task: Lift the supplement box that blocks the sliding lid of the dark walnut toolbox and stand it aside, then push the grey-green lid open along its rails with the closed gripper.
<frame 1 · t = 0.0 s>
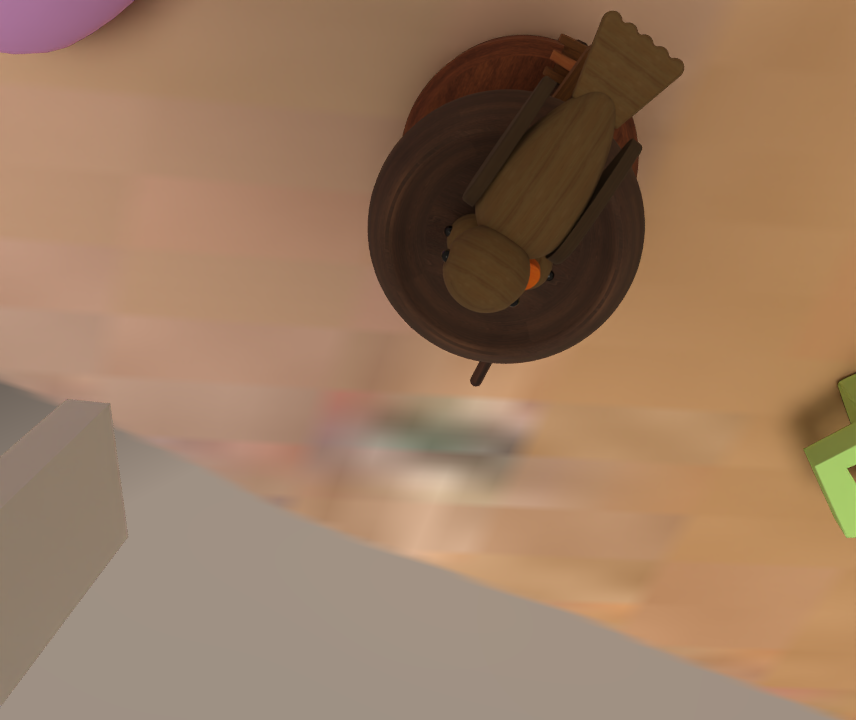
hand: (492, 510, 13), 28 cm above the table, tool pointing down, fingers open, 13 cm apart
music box: (513, 167, 39), on the table
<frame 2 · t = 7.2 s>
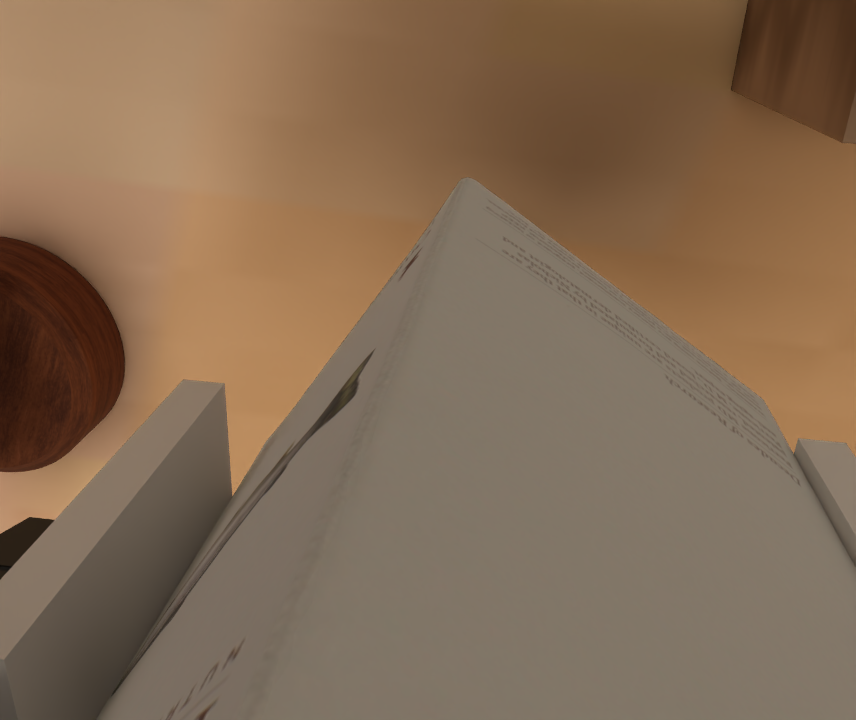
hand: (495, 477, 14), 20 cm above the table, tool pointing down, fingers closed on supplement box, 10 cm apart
supplement box: (500, 414, 16), point 18 cm above the table, touching gripper
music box: (20, 355, 39), on the table
when the fingers open (4 cm above the table, at t = 10.3 s): supplement box drops 1 cm, on the table.
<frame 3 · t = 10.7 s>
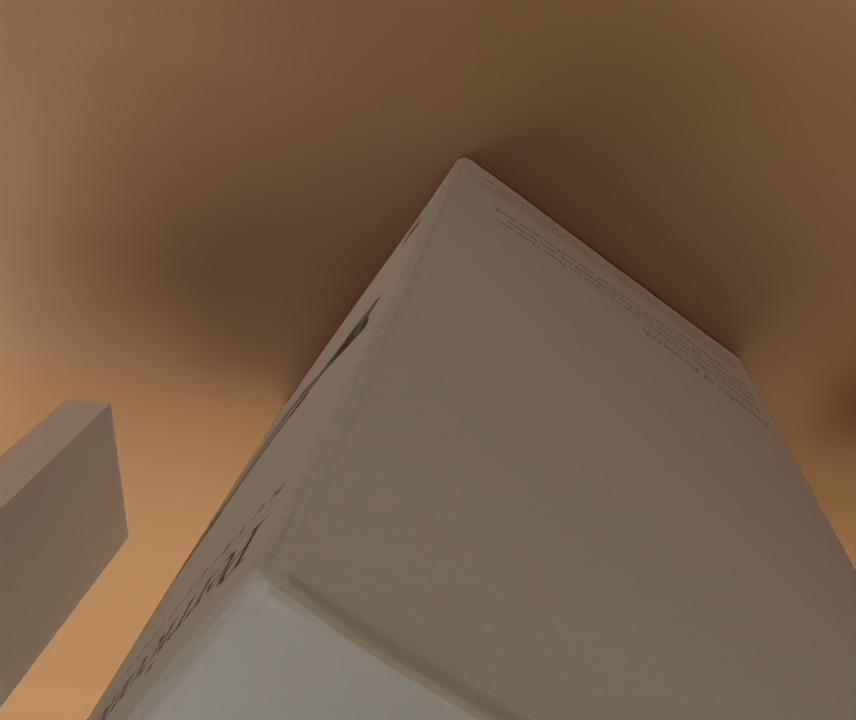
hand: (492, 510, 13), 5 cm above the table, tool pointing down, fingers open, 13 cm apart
supplement box: (498, 379, 18), on the table
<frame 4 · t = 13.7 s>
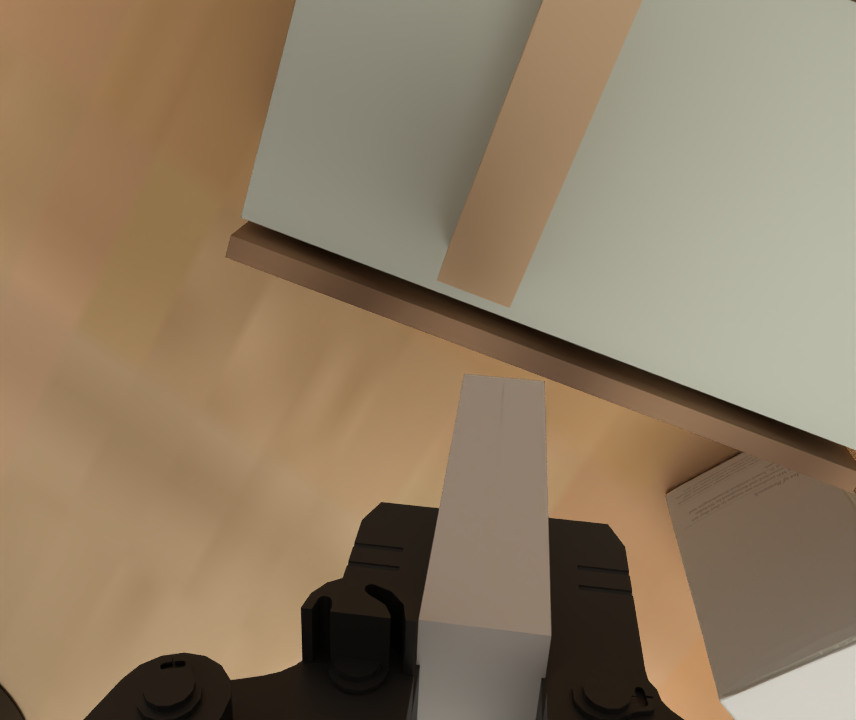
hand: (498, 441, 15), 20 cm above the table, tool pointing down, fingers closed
supplement box: (767, 508, 39), on the table
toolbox: (604, 111, 32), on the table
lid: (641, 173, 21), point 12 cm above the table, slide at 0.0 cm
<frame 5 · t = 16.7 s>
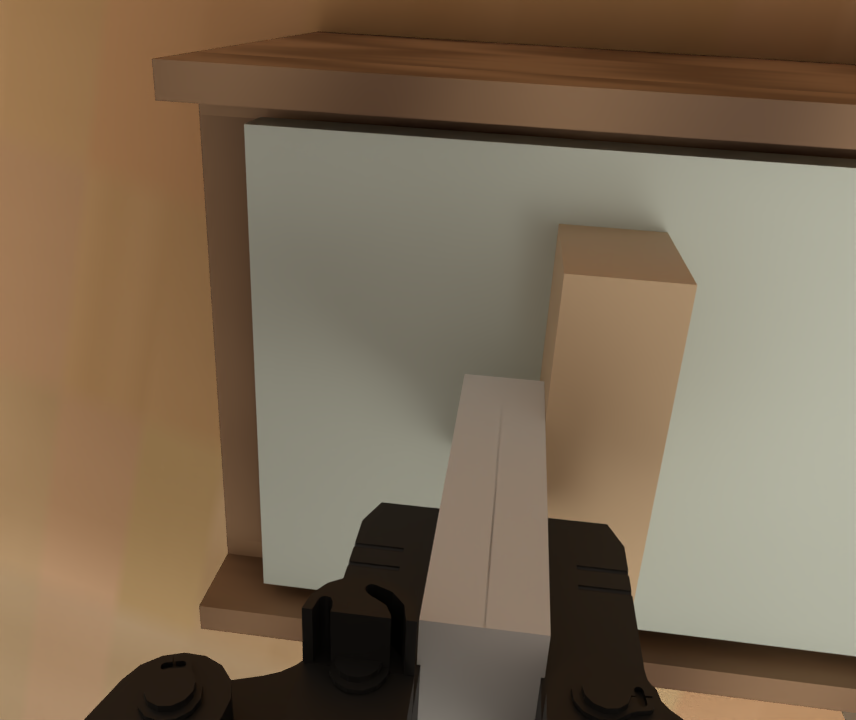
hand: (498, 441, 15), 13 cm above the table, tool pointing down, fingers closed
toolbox: (613, 260, 27), on the table
lid: (745, 457, 15), point 12 cm above the table, slide at 1.4 cm, touching gripper
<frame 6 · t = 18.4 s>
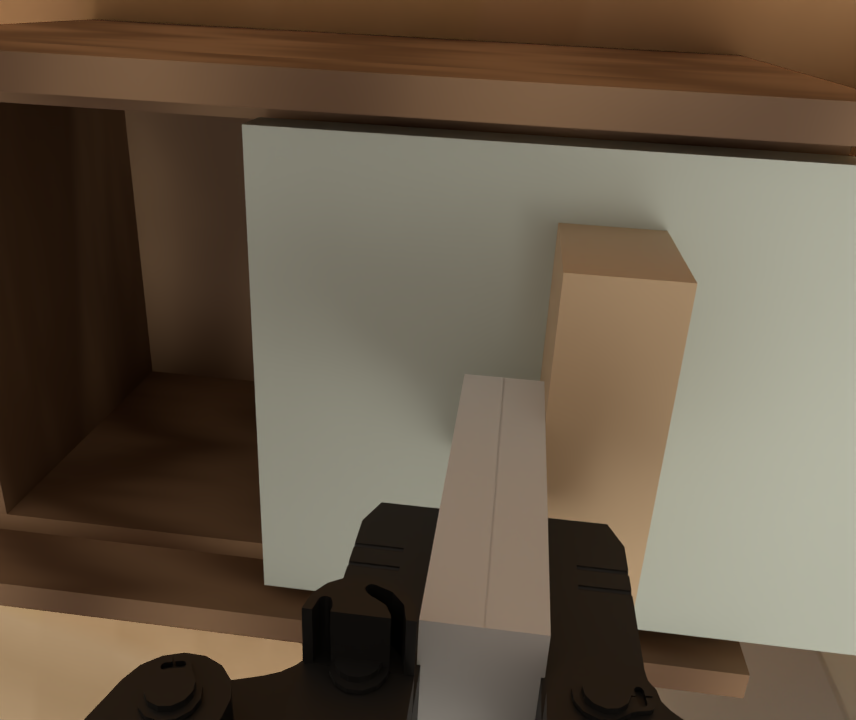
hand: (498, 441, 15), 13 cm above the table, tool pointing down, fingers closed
supplement box: (759, 612, 32), on the table
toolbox: (398, 242, 27), on the table
lid: (746, 456, 15), point 12 cm above the table, slide at 8.6 cm, touching gripper
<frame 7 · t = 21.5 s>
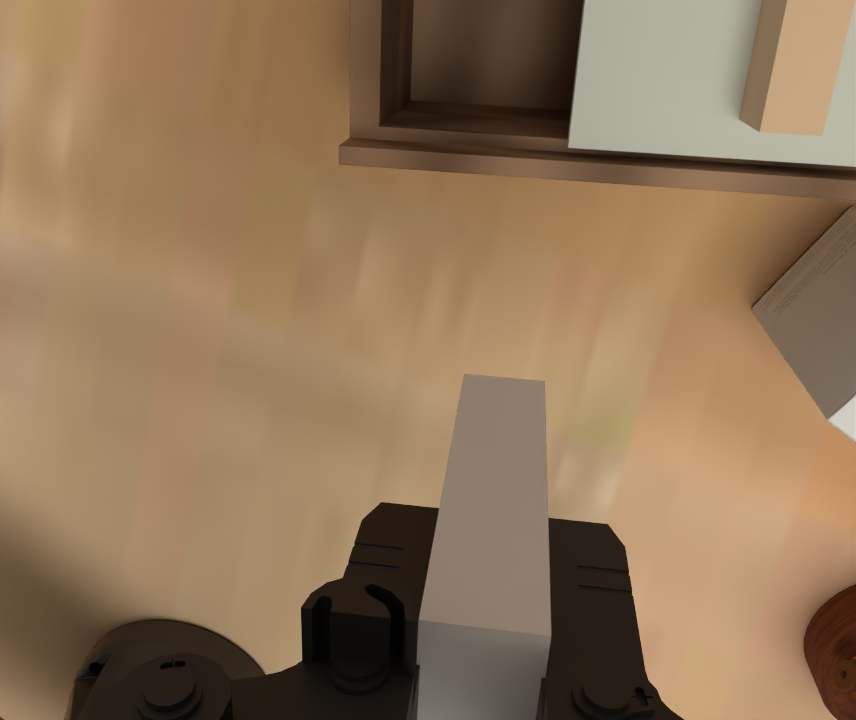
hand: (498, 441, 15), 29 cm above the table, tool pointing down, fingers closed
supplement box: (847, 296, 43), on the table
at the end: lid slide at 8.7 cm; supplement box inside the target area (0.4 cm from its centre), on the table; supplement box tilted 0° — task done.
